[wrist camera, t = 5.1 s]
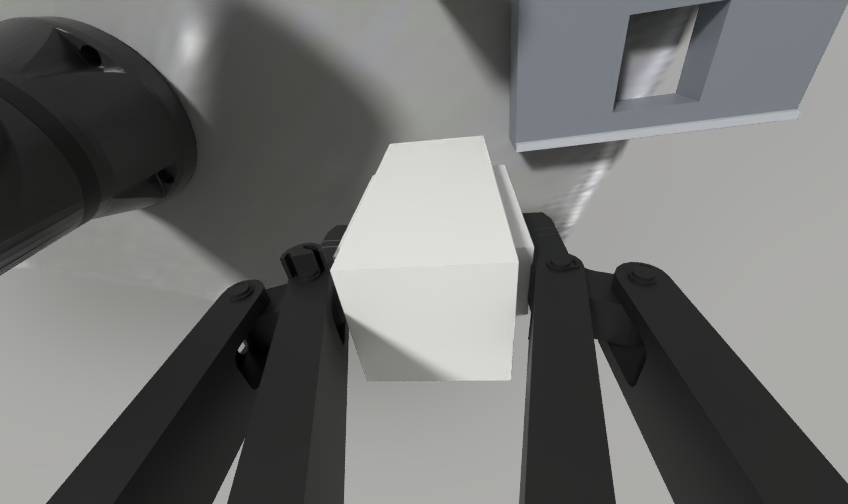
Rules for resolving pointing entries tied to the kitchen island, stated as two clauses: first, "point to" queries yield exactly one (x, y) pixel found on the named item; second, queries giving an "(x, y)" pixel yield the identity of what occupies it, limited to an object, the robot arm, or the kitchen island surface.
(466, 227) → the block
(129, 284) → the kitchen island surface
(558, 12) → the grey socket board
